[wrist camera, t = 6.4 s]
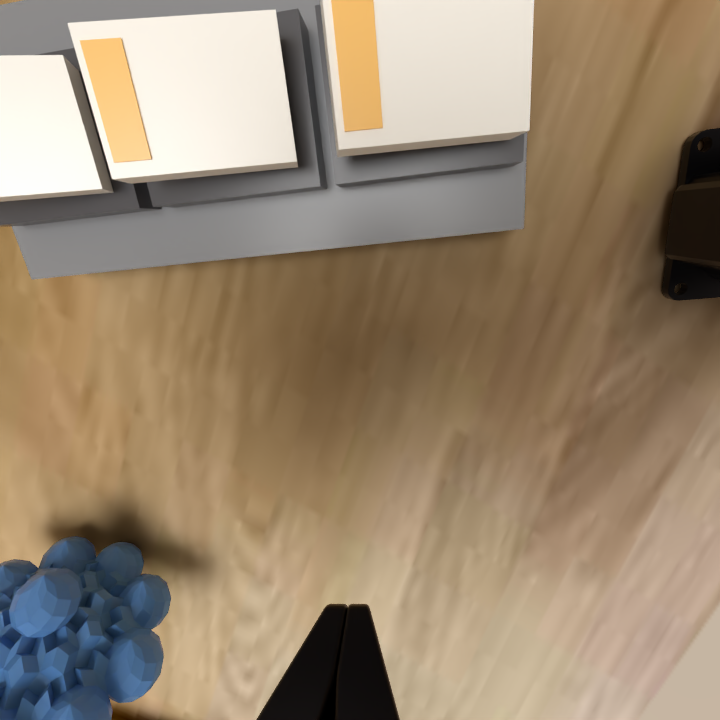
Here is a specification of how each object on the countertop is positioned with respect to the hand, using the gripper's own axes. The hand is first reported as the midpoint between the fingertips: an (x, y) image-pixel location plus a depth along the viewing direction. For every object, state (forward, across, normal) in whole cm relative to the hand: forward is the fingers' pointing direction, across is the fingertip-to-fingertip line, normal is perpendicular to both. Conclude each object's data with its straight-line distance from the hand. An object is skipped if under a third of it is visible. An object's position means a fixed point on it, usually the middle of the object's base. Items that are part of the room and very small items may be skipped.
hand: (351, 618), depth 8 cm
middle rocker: (+8, +4, -11) cm, 14 cm away
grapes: (+13, +17, +10) cm, 24 cm away
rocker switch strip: (+13, +4, -11) cm, 17 cm away
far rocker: (+8, +11, -11) cm, 17 cm away
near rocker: (+8, -2, -11) cm, 14 cm away
